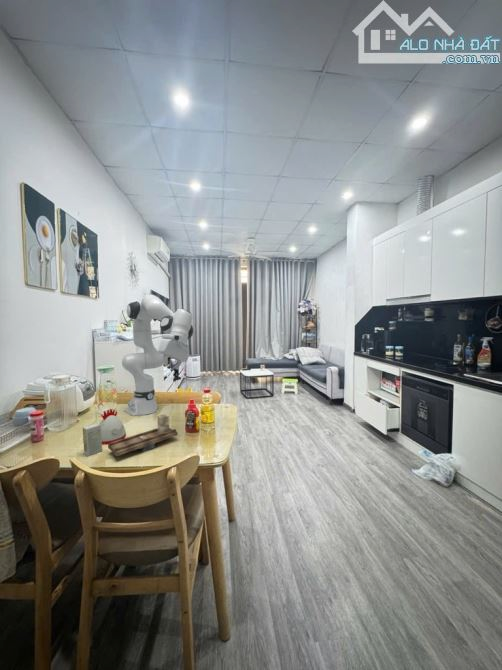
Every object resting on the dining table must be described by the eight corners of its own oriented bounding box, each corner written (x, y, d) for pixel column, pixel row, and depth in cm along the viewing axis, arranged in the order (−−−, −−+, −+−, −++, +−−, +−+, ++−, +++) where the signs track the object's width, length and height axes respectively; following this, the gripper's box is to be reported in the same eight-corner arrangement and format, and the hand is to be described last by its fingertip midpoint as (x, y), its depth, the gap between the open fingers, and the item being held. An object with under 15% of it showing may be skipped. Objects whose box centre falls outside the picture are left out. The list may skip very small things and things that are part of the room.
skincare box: (98, 448, 122) (97, 422, 121) (102, 451, 119) (101, 424, 119) (83, 453, 117) (82, 426, 117) (86, 456, 114) (85, 429, 114)
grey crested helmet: (88, 441, 130) (87, 411, 129) (114, 431, 142) (113, 403, 141) (106, 447, 123) (105, 415, 123) (131, 435, 135) (130, 407, 135)
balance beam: (166, 433, 137) (166, 424, 137) (177, 440, 129) (177, 430, 129) (108, 453, 117) (107, 442, 117) (117, 462, 109) (116, 450, 109)
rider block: (165, 429, 133) (164, 414, 132) (169, 431, 130) (168, 415, 129) (157, 432, 130) (157, 416, 129) (161, 434, 127) (161, 418, 127)
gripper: (183, 345, 141) (177, 370, 137) (160, 333, 122) (152, 362, 119) (193, 346, 139) (187, 372, 135) (171, 334, 120) (163, 363, 117)
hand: (170, 367), depth 127 cm, fingers open, 8 cm apart
